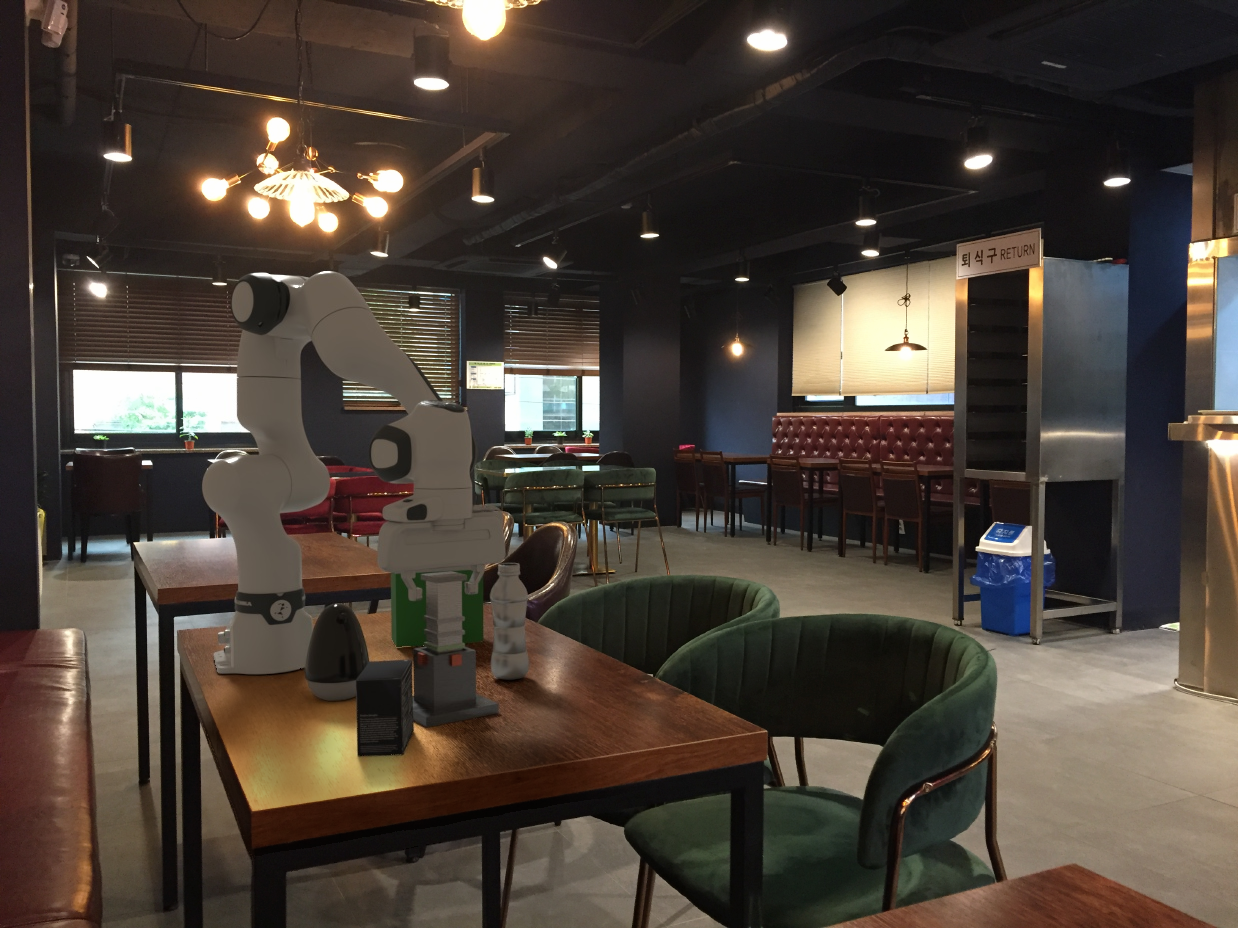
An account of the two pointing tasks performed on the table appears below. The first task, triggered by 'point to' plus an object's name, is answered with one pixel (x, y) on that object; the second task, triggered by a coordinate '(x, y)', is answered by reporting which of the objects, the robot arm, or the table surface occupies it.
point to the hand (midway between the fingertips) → (443, 596)
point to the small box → (384, 708)
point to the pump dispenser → (336, 654)
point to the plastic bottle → (509, 624)
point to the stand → (447, 688)
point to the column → (444, 612)
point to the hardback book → (411, 613)
